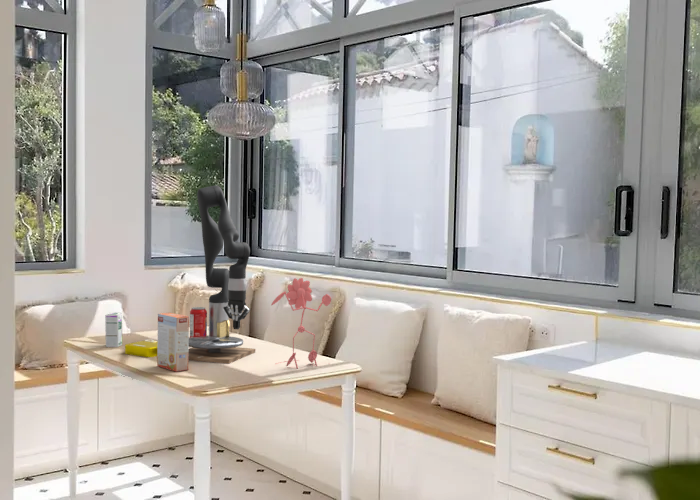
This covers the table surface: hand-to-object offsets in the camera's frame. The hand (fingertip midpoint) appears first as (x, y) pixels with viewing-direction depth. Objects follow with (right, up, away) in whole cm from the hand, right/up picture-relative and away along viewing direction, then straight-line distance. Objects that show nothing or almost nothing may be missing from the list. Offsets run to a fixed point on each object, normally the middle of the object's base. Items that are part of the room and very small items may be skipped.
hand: (236, 329), depth 331 cm
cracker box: (-20, -12, -33) cm, 40 cm away
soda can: (-22, -8, +30) cm, 38 cm away
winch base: (-8, -10, -6) cm, 15 cm away
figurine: (+28, -12, -21) cm, 37 cm away
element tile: (-37, -10, -4) cm, 38 cm away
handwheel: (-8, -5, -6) cm, 12 cm away
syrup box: (-56, -9, +10) cm, 57 cm away
